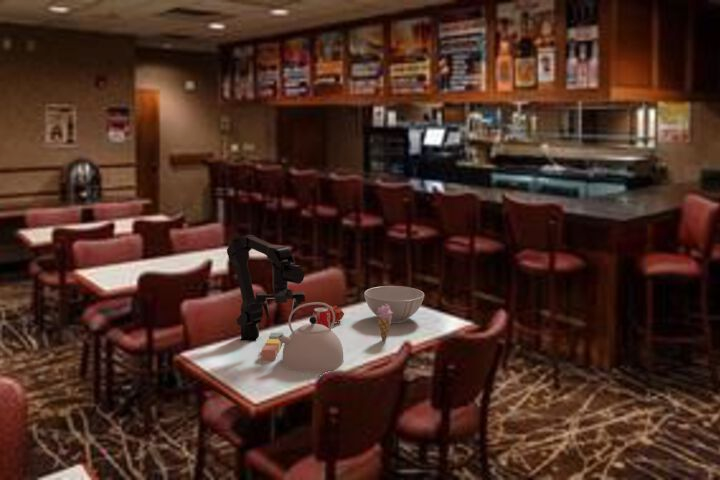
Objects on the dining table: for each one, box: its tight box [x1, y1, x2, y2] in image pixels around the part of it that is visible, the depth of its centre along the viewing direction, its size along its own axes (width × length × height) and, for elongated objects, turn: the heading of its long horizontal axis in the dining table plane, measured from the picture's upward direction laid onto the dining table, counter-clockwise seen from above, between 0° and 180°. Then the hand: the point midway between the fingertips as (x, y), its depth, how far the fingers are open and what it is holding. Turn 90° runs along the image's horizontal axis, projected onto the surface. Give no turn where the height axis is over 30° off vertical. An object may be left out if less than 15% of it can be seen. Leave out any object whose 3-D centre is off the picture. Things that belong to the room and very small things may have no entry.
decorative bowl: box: [363, 285, 425, 324], centre depth 304 cm, size 27×27×12 cm
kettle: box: [277, 301, 344, 373], centre depth 249 cm, size 25×23×22 cm
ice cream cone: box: [375, 304, 393, 342], centre depth 274 cm, size 7×6×15 cm
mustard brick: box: [264, 338, 282, 354], centre depth 262 cm, size 5×5×4 cm
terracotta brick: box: [261, 345, 278, 361], centre depth 254 cm, size 5×5×4 cm
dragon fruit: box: [323, 305, 345, 325], centre depth 298 cm, size 8×8×12 cm
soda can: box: [312, 307, 331, 328], centre depth 277 cm, size 7×7×12 cm
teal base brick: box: [268, 332, 285, 347], centre depth 270 cm, size 5×5×4 cm
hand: (280, 318), depth 262 cm, fingers open, 9 cm apart
